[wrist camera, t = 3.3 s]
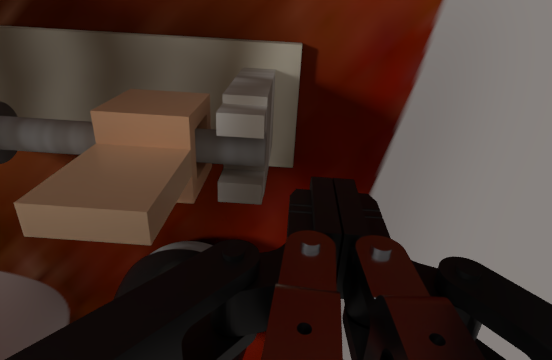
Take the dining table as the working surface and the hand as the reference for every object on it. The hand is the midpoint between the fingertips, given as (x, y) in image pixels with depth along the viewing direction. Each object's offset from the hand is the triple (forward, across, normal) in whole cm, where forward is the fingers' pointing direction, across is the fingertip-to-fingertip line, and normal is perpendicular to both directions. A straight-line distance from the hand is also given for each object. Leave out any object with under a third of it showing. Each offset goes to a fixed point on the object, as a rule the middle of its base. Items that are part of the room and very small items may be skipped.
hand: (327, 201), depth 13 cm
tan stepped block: (+6, +8, 0) cm, 10 cm away
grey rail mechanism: (+12, +14, 0) cm, 19 cm away
